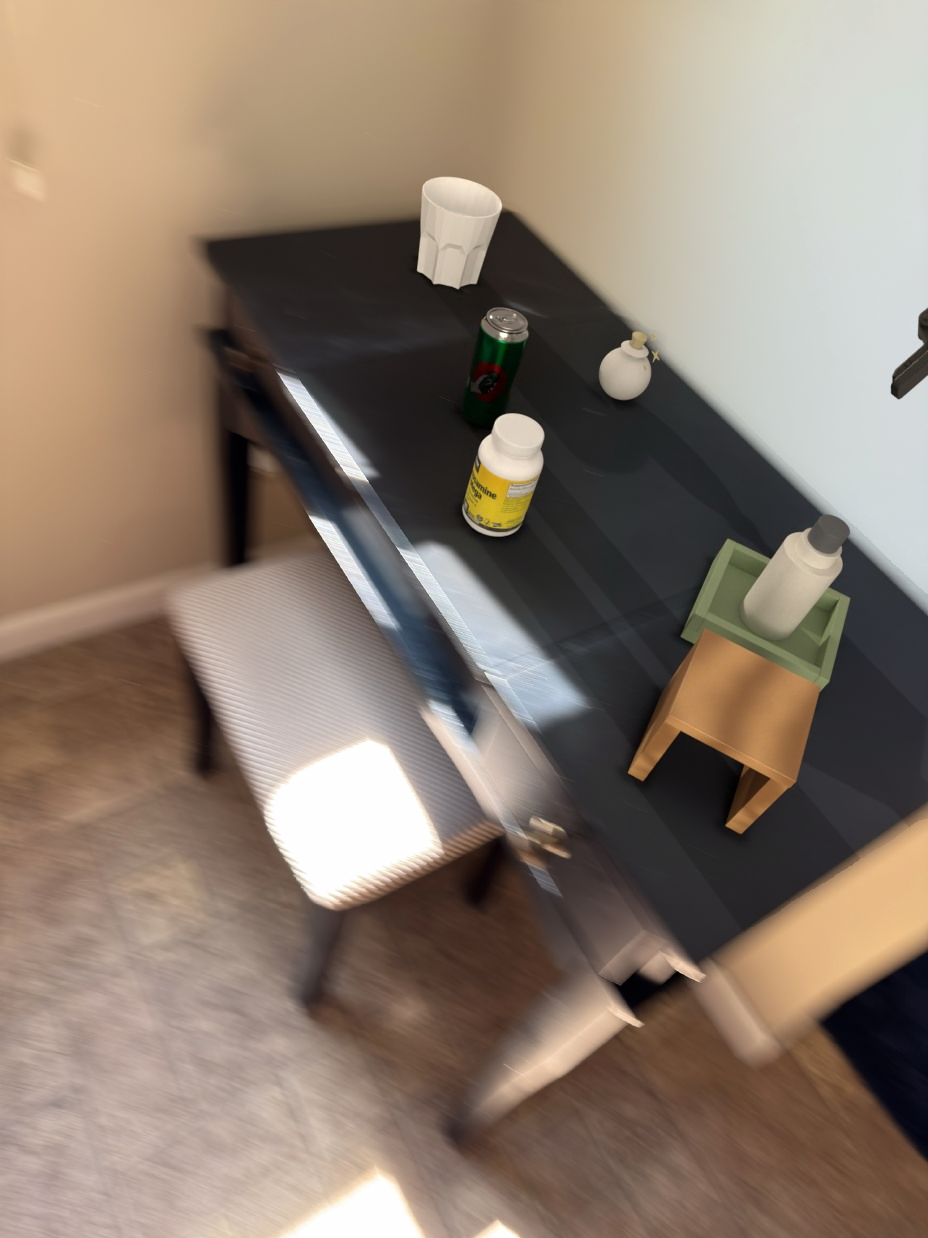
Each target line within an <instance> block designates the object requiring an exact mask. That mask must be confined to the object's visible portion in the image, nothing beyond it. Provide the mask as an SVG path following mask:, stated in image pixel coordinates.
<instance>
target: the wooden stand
mask: <svg viewBox="0 0 928 1238" xmlns="http://www.w3.org/2000/svg"><path fill="white" fill-rule="evenodd" d="M820 688H821V687H820V686H818V685H816V684H814V683H812V682H810V681H808V680H806V679H804V678H802V677H800V676H798V675H797V674H795V673H793V672H791V671H789V670H787V669H785V668H783V667H781V666H779V665H777V664H775V663H773V662H771V661H769V660H767V659H765V658H763V657H761V656H759V655H757V654H755V653H753V652H751V651H749V650H747V649H745V648H743V647H741V646H739V645H737V644H735V643H733V642H731V641H729V640H727V639H725V638H724V637H722V636H720V635H718V634H716V633H714V632H712V631H710V630H708V629H706V628H705V629H704V630H703V632H702V633H701V635H700V637H699V638H698V640H697V641H696V643H695V644H693V646H692V647H691V649H690V650H689V651H688V653H687V654H686V656H685V658H684V659H683V660H682V662H681V663H680V665H679V666H678V668H677V669H676V671H675V673H674V674H673V675H672V677H671V679H670V680H669V681H668V683H667V685H665V687H664V689H663V690H662V692H661V695H660V696H659V699H658V701H657V704H656V706H655V708H654V711H653V713H652V714H651V715H652V716H651V717H650V720H649V722H648V725H647V727H646V729H645V731H644V734H643V736H642V738H641V741H640V743H639V745H638V748H637V750H636V752H635V755H634V757H633V760H632V762H631V764H630V766H629V769H628V770H627V774H628V775H630V776H632V777H634V778H636V779H638V780H640V781H641V782H644V781H645V780H646V778H647V777H648V776H649V774H650V773H651V771H652V770H653V769H654V767H655V766H656V765H657V763H658V762H659V761H660V760H661V758H662V757H663V755H664V754H665V753H666V751H667V750H668V748H670V746H671V745H672V744H673V742H674V741H675V740H676V738H677V736H678V735H679V734H680V733H681V732H682V733H684V734H686V735H688V736H690V737H692V738H694V739H695V740H697V741H700V742H701V743H703V744H705V745H707V746H709V747H711V748H713V749H715V750H717V751H719V752H720V753H722V754H724V755H726V756H728V757H730V758H731V759H734V760H735V761H737V762H739V763H741V764H743V768H742V770H741V775H740V778H739V781H738V783H737V787H736V790H735V793H734V797H733V800H732V803H731V806H730V809H729V812H728V816H727V818H726V822H725V824H724V825H725V827H726V828H727V829H728V828H729V829H730V830H732V831H734V832H735V833H737V834H740V835H743V833H744V832H745V831H746V830H747V829H748V828H749V827H750V826H752V825H753V824H754V822H755V821H756V820H758V818H759V817H760V816H762V814H764V812H765V811H766V810H768V809H769V807H771V806H772V805H773V804H774V802H776V801H777V800H778V799H779V798H780V797H781V796H782V795H783V794H784V793H785V792H786V791H787V790H788V789H790V788H791V787H792V786H793V785H794V784H796V783H797V780H798V776H799V773H800V769H801V764H802V761H803V757H804V753H805V749H806V745H807V742H808V739H809V735H810V730H811V726H812V722H813V719H814V716H815V711H816V707H817V704H818V699H819V696H820V693H821V691H820Z"/></svg>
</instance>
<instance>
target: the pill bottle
mask: <svg viewBox="0 0 928 1238" xmlns="http://www.w3.org/2000/svg"><path fill="white" fill-rule="evenodd" d="M544 440H545V431H544V429H543V427H542V426H541V425H540V424H539V422H537V421H536V420H534V419H533V418H531V417H530V416H527V415H524V414H522V413H521V414H520V413H514V412H513V413H505V415H502V416H500V417H499V418H498V419H497V420H496V421H495V424H494V426H492V430H491V433H490V434H489V435H487V436H486V437H485V438H484V439H483V440H482V441H481V443H480V445H479V447H478V450H477V453H476V457H475V460H474V464H473V467H472V471H471V475H470V478H469V482H468V484H467V487H466V492H465V494H464V495H465V496H464V499H463V503H462V514H463V517H464V519H465V521H466V522H467V523H468V524H469V526H470V527H471V528H472V529H474V530H475V531H476V532H478V533H481V534H483V535H486V536H489V537H506V536H509V535H512V534H514V533H516V532H517V531H518V530H520V528H521V526H522V525H523V522H524V519H525V516H526V513H527V511H528V509H529V507H530V503H531V500H532V498H533V495H534V492H535V490H536V486H537V484H538V481H539V478H540V475H541V474H542V470H543V468H544V467H543V466H544V455H543V452H542V450H541V449H542V446H543V443H544Z"/></svg>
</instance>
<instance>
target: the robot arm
mask: <svg viewBox="0 0 928 1238" xmlns="http://www.w3.org/2000/svg"><path fill="white" fill-rule="evenodd" d="M917 318H918V319H917V338H918V340H920V341H921V342H922V345H921V346H920V347H919V348H918V349H917V350H916V351H914V353H912V354H911V355H910V356H909V357H907V359H905V360H904V361H903V362H902V363H901V364H899V365H898V366H897V367H896V368H895V369H894V371H893V373H892V375H891V383H890V394H891V395H892V396H893V397H894V398H896V400H897V401H898V400H901V399H902V398H904V397H905V396H906V395H907V394H909V393H910V392H911V391H912V390H913V389H914V388H915V387H917V386H918V385H919V384H920V383H921V382H922V381H923V380H925V379H926V378H927V377H928V307H926V308H925V309H924V310H923V311H921V312H920V313H919V315H918V317H917Z"/></svg>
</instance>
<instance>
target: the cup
mask: <svg viewBox="0 0 928 1238" xmlns="http://www.w3.org/2000/svg"><path fill="white" fill-rule="evenodd" d="M420 207H421V208H420V238H419V249H418V257H417V258H418V259H417V268H416V271H417V272H418V273H420V274H423V275H424V276H426V277H427V279H429V280H431V282H432V284H433V285H442V286H443V285H444V286H447V287H452V288H455V289H457V290H459V289H460V288H461V287H465V286H467V285H477V283H478V280H479V278H480V273H481V270H482V267H483V263H484V261H485V257H486V254H487V251H488V248H489V245H490V242H491V240H492V237H493V235H494V232H495V229H496V226H497V223H498V221H499V218H500V216H501V212H502V209H503V203H502V200H501V198H500V197H499V196H498V195H497V194H496V193H495V192H494V191H492V189H490V188H489V187H487V186H485V185H483V184H480V183H478V182H476V181H473V180H470V179H466V178H461V177H456V176H437V177H433V178H430V179H428V180H427V181H425V182H424V184H423V185H422V189H421V206H420Z"/></svg>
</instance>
